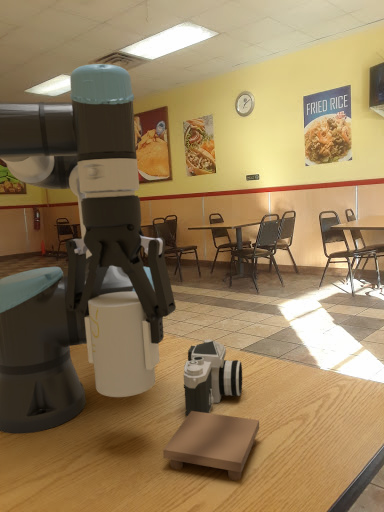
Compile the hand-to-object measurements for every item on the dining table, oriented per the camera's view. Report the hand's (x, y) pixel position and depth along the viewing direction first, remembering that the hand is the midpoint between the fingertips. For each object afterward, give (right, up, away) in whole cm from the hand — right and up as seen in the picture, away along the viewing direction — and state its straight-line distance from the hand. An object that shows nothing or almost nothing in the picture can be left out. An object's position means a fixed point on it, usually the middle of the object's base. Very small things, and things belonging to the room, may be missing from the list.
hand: (123, 362), depth 60 cm
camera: (+13, -10, +14) cm, 22 cm away
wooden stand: (+12, -12, -2) cm, 18 cm away
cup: (0, -3, +1) cm, 3 cm away
